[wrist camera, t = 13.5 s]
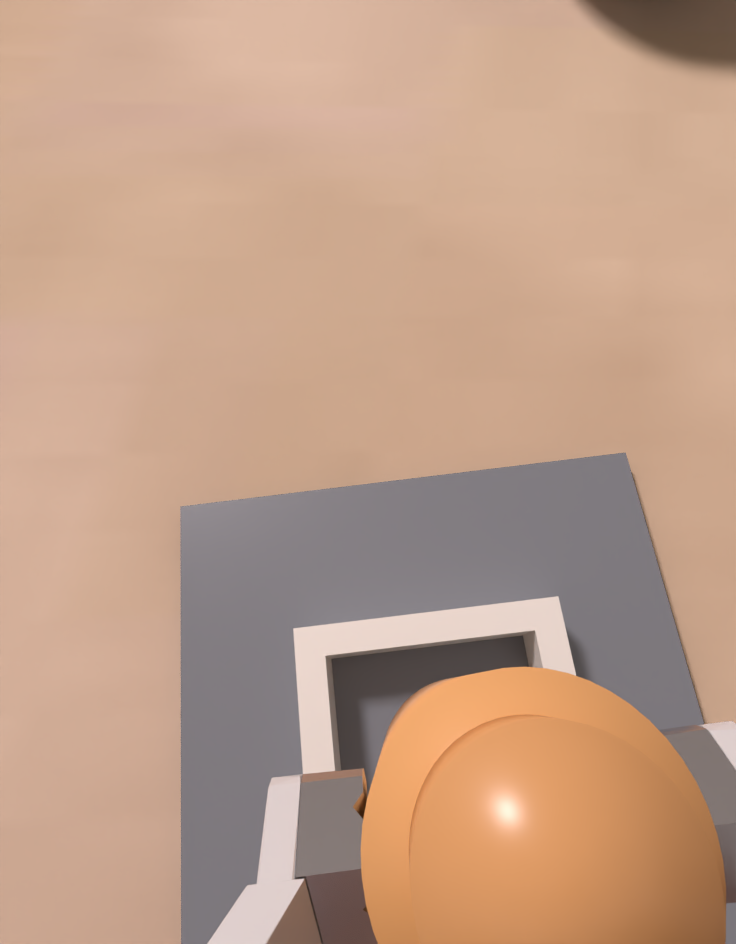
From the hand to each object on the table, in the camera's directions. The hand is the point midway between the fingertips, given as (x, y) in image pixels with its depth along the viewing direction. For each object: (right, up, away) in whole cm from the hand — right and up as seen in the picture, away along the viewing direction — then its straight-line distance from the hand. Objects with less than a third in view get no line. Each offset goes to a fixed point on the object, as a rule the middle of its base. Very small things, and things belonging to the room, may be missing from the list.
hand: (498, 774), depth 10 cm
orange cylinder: (0, -3, +6) cm, 7 cm away
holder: (0, -5, +11) cm, 12 cm away
